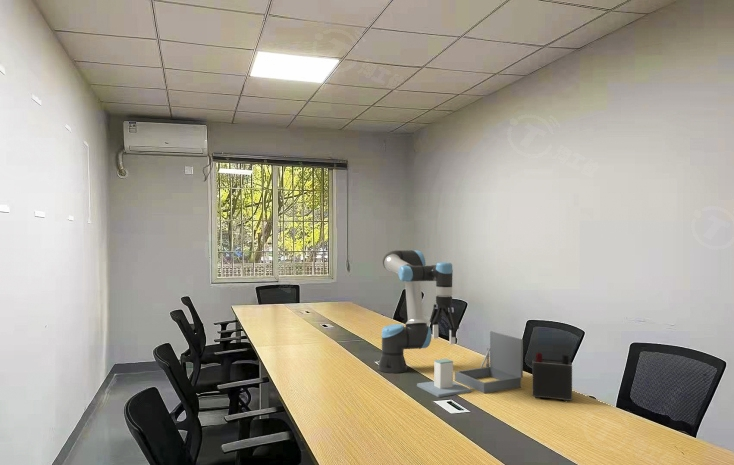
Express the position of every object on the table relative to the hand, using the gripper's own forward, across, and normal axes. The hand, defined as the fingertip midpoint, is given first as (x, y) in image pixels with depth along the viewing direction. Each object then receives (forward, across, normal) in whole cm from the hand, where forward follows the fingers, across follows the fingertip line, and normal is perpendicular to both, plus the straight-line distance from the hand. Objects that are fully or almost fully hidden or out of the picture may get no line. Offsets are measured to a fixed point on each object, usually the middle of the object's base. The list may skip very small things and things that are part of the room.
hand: (443, 341), depth 230 cm
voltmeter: (+22, -28, -39) cm, 53 cm away
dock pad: (+22, 0, 0) cm, 22 cm away
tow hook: (+23, +16, -39) cm, 48 cm away
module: (+21, 0, 0) cm, 21 cm away
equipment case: (+22, -2, -24) cm, 33 cm away
